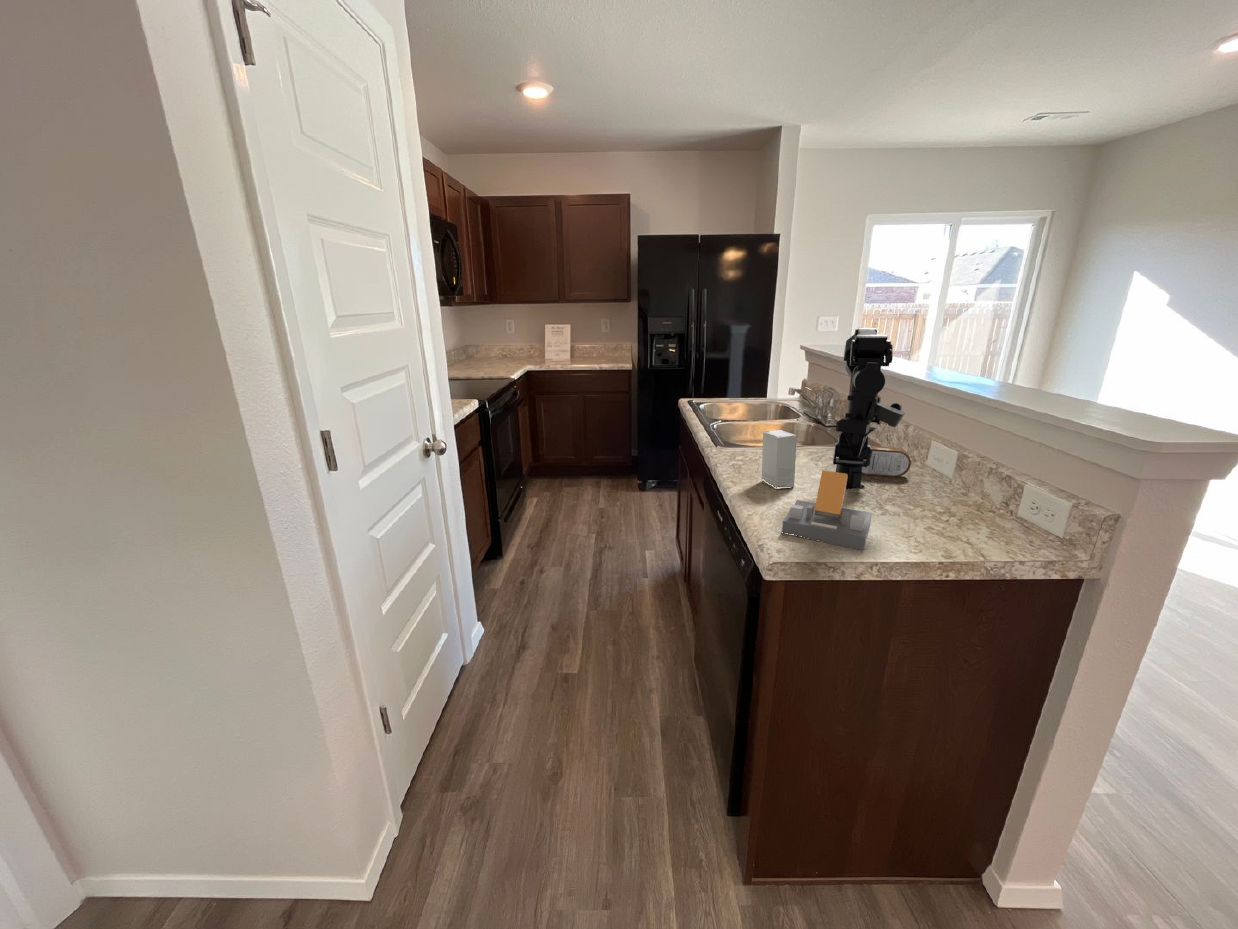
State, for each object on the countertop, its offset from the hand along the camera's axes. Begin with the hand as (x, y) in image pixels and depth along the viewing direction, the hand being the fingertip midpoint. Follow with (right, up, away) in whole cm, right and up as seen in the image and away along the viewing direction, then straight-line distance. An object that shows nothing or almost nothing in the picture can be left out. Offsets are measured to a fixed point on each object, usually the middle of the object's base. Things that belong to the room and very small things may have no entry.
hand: (855, 457), depth 114 cm
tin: (+20, -5, +27) cm, 34 cm away
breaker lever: (-11, -12, -11) cm, 20 cm away
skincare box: (-12, -7, +21) cm, 25 cm away
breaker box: (-10, -16, -8) cm, 21 cm away
